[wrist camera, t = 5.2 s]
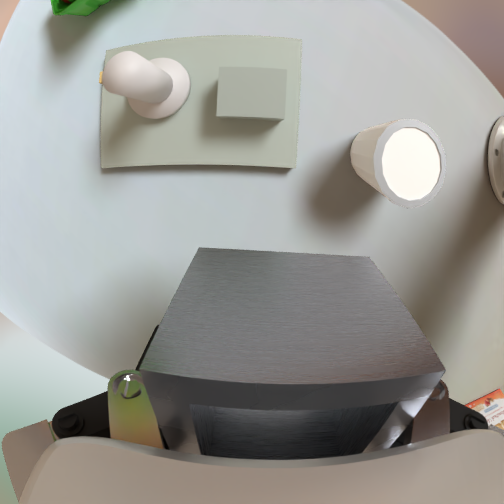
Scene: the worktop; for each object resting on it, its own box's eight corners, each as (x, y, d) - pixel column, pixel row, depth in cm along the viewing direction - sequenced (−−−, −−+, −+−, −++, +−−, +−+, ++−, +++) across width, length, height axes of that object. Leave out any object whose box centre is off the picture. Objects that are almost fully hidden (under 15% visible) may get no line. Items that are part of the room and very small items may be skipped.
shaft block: (299, 43, 20) (321, 3, 11) (293, 166, 24) (314, 182, 16) (111, 53, 19) (60, 30, 11) (107, 166, 24) (52, 183, 16)
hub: (369, 256, 10) (446, 370, 5) (336, 373, 13) (358, 479, 7) (199, 247, 10) (138, 369, 5) (206, 369, 13) (183, 478, 7)
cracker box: (500, 386, 42) (533, 441, 22) (489, 401, 44) (519, 455, 25) (464, 403, 42) (497, 469, 23) (454, 418, 44) (482, 481, 25)
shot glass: (408, 127, 22) (450, 128, 16) (402, 193, 25) (441, 212, 19) (345, 115, 22) (376, 109, 16) (341, 187, 25) (369, 205, 19)
